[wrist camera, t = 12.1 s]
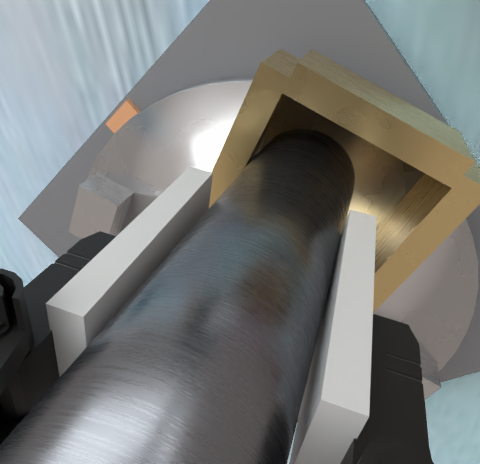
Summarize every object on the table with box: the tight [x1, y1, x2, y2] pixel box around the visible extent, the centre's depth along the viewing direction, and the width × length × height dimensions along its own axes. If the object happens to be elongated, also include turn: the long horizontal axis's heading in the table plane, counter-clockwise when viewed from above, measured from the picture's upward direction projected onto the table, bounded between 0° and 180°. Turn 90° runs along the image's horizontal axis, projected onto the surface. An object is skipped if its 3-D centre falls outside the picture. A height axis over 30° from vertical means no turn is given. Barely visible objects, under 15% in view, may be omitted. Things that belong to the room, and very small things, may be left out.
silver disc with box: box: [69, 49, 480, 417], centre depth 20 cm, size 21×20×4 cm
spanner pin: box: [0, 129, 355, 464], centre depth 10 cm, size 4×4×16 cm
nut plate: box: [18, 0, 480, 422], centre depth 23 cm, size 22×22×2 cm
